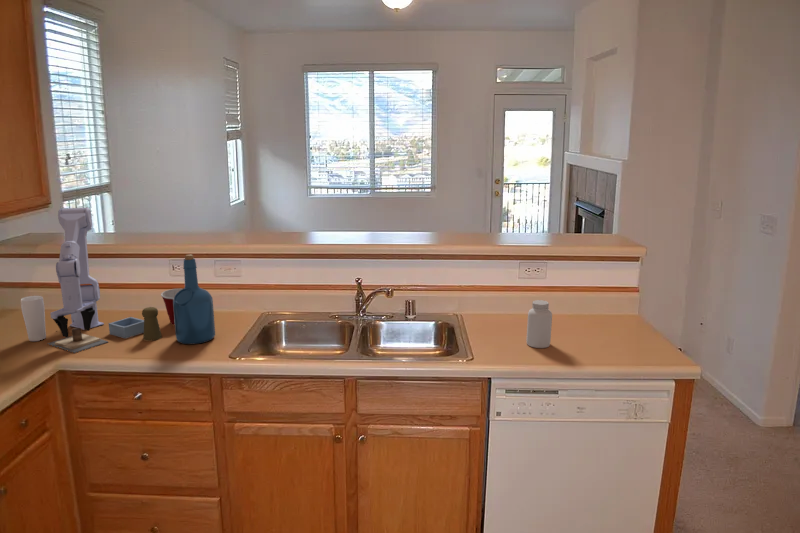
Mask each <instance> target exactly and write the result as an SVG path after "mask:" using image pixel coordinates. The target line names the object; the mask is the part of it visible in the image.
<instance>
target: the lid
mask: <svg viewBox="0 0 800 533" xmlns="http://www.w3.org/2000/svg"><path fill="white" fill-rule="evenodd" d="M71 336H73V337H70V336H69V337H70V338H67V337H66V338H67V339H64V338H62V339H63V340H60V339H59V340H60V341H57V340H56V341H57V342H55V345H59V346H62V347H66V348H70V349H76V348H79V347H82V346H85V345H88V344H91V343H94V342H97V341H100V339H101V337H98V336H97V337H96V336H94V335H89V334H85V333H83V332H82V329H81V328H76V327H73V328H72V329H71Z"/></svg>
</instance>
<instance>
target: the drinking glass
mask: <svg viewBox="0 0 800 533" xmlns="http://www.w3.org/2000/svg"><path fill="white" fill-rule="evenodd" d="M44 301H45V300H44V297H43V295H30V296H29V295H28V296H24V297H21V299H20V308H21V313H22V316H23V320H24V321H23V322H24V324H25V329H26V333H27V337H28V338H27V339H28V341H30V342H41V341H44V340H46V338H47V333H46V313H45V311H46V310H45V302H44ZM43 339H44V340H43ZM40 340H41V341H40Z"/></svg>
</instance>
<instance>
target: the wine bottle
mask: <svg viewBox="0 0 800 533" xmlns="http://www.w3.org/2000/svg"><path fill="white" fill-rule="evenodd" d="M182 266H183V268H182V269H183V276H184V287H183V288H181V289H182V290H180V291H179V292H178V293H177V294H176V295H175V296H174V298H173V312H174V323H175V325H174V331H175V332H174V333H175V339H176V341H177V343H180V344H184V345H197V344H203V343H205V342H209V341H211V340H213V339H214V338H215V336H216V324H215V313H214V312H215V310H214V299H213V297H212V295H211V293H210V292H209V291H208V290H207V289H205V288H202V287H200V286H199V281H198V279H199V278H198V271H197V269H198V266H197V262H196V258H194V254H191V253H190V254H185V255H184V258H183V265H182Z"/></svg>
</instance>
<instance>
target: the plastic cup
mask: <svg viewBox="0 0 800 533" xmlns="http://www.w3.org/2000/svg"><path fill="white" fill-rule="evenodd" d="M182 289H183V288H172V289H166V290H164V291H162V292H161V293H160V297H162V299H163V302H164V305H165V309H166V313H167V316H168V319H169V322H170V324H171V325H173V326H175V323H174V312H173V298H174V296H175V295H176V294H177V293H178V292H179V291H180V290H182Z"/></svg>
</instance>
